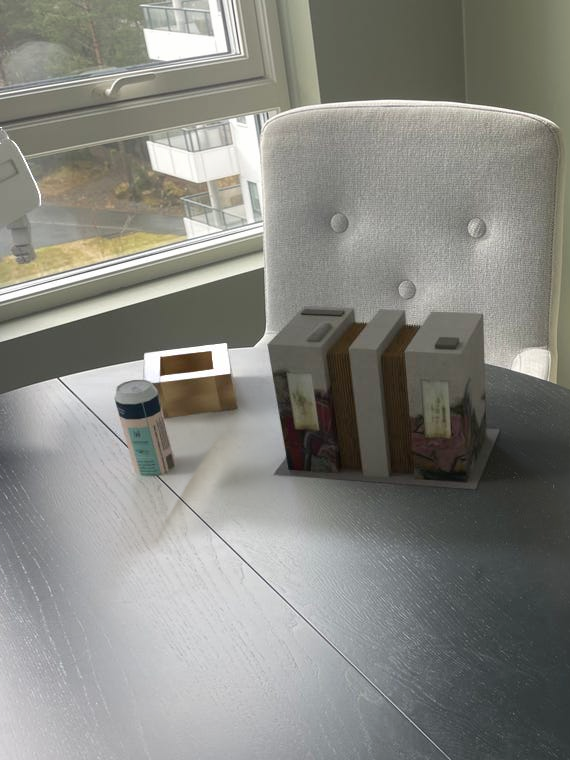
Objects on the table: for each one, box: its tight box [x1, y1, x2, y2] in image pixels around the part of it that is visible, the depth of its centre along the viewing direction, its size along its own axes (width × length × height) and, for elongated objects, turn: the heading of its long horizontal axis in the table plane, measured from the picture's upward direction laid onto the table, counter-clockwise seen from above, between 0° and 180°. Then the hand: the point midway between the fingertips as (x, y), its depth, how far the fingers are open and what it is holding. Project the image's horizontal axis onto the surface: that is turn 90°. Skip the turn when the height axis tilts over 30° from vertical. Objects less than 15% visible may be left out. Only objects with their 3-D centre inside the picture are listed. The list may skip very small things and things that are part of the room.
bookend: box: [267, 305, 501, 490], centre depth 116 cm, size 16×25×16 cm, turn 79°
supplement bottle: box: [113, 379, 176, 477], centre depth 113 cm, size 5×5×12 cm
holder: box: [142, 342, 238, 419], centre depth 134 cm, size 11×11×5 cm
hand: (8, 275), depth 106 cm, fingers open, 8 cm apart
